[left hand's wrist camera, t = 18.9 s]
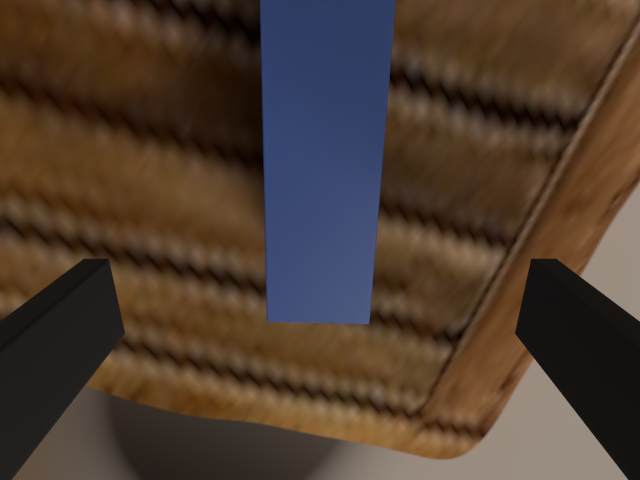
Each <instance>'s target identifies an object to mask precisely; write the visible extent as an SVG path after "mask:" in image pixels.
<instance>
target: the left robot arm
mask: <svg viewBox="0 0 640 480" xmlns="http://www.w3.org/2000/svg"><path fill="white" fill-rule="evenodd" d="M124 334H125V331H124V327H123V322H122V318H121V313H120V309H119V304H118V299H117V295H116V290H115V286H114V281H113V276H112V272H111V267H110V263H109V259H83V260H82V261H80V262H79V263H78V264H76V265H75V266H74V267H72V268H71V269H70V270H68V271H67V272H66V273H64V274H63V275H62V276H60V277H59V278H58V279H56V280H55V281H54V282H52V283H51V284H50V285H48V286H47V287H46V288H44V289H43V290H42V291H40V292H39V293H38V294H36V295H35V296H34V297H32V298H31V299H30V300H28V301H27V302H26V303H24V304H23V305H22V306H20V307H19V308H18V309H16V310H15V311H14V312H12V313H11V314H10V315H8V316H7V317H6V318H4V319H3V320H2V321H0V480H12V479H13V477H14V476H15V475H16V473H17V472H18V471H19V469H20V468H21V467H22V466H23V464H24V463H25V462H26V460H27V459H28V458H29V456H30V455H31V454H32V453H33V451H34V450H35V449H36V448H37V446H38V445H39V444H40V442H41V441H42V440H43V438H44V437H45V436H46V435H47V433H48V432H49V431H50V430H51V428H52V427H53V426H54V424H55V423H56V422H57V420H58V419H59V418H60V417H61V415H62V414H63V413H64V411H65V410H66V409H67V408H68V406H69V405H70V404H71V402H72V401H73V400H74V399H75V397H76V396H77V395H78V393H79V392H80V391H81V389H82V388H83V387H84V386H85V384H86V383H87V382H88V380H89V379H90V378H91V377H92V375H93V374H94V373H95V371H96V370H97V369H98V368H99V366H100V365H101V364H102V362H103V361H104V360H105V359H106V357H107V356H108V355H109V353H110V352H111V351H112V349H113V348H114V347H115V346H116V344H117V343H118V342H119V340H120V339H121V338H122V337H123V335H124ZM515 334H516V335H517V337H518V338H519V339H520V340H521V342H522V343H523V344H524V346H525V347H526V348H527V349H528V351H529V352H530V353H531V355H532V356H533V357H534V359H535V360H536V361H537V362H538V364H539V365H540V366H541V367H542V369H543V370H544V371H545V373H546V374H547V375H548V377H549V378H550V379H551V380H552V382H553V383H554V384H555V386H556V387H557V388H558V389H559V391H560V392H561V393H562V395H563V396H564V397H565V398H566V400H567V401H568V402H569V404H570V405H571V406H572V408H573V409H574V410H575V411H576V413H577V414H578V415H579V417H580V418H581V419H582V420H583V422H584V423H585V424H586V426H587V427H588V428H589V429H590V431H591V432H592V433H593V435H594V436H595V437H596V439H597V440H598V441H599V442H600V444H601V445H602V446H603V448H604V449H605V450H606V451H607V453H608V454H609V455H610V457H611V458H612V459H613V460H614V462H615V463H616V464H617V466H618V467H619V468H620V470H621V471H622V472H623V473H624V475H625V476H626V477H627V479H628V480H640V321H638V320H637V319H635V318H634V317H633V316H632V315H630V314H629V313H628V312H626V311H625V310H624V309H622V308H621V307H620V306H618V305H617V304H616V303H614V302H613V301H611V300H610V299H609V298H608V297H606V296H605V295H604V294H602V293H601V292H600V291H598V290H597V289H596V288H594V287H593V286H592V285H590V284H589V283H588V282H586V281H585V280H584V279H582V278H581V277H580V276H578V275H577V274H576V273H574V272H573V271H572V270H570V269H569V268H568V267H566V266H565V265H564V264H562V263H561V262H560V261H558V260H557V259H531V263H530V267H529V272H528V276H527V281H526V286H525V290H524V295H523V299H522V304H521V309H520V313H519V318H518V322H517V327H516V331H515Z"/></svg>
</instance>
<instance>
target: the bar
mask: <svg viewBox="0 0 640 480" xmlns="http://www.w3.org/2000/svg"><path fill="white" fill-rule="evenodd" d="M395 3H396V0H260V30H261V75H262V121H263V166H264V211H265V257H266V302H267V321H268V322H304V323H346V324H369V321H370V308H371V296H372V284H373V272H374V260H375V247H376V235H377V223H378V211H379V198H380V186H381V174H382V162H383V150H384V137H385V125H386V113H387V101H388V89H389V76H390V64H391V52H392V40H393V27H394V15H395Z"/></svg>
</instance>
